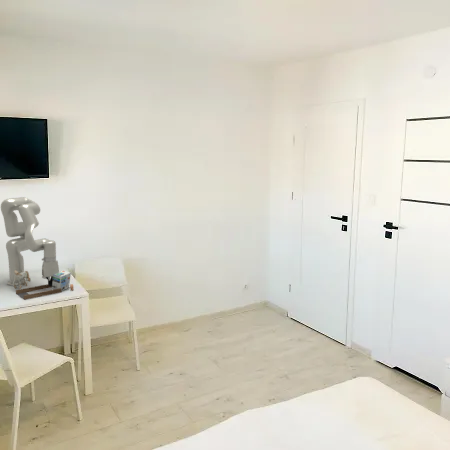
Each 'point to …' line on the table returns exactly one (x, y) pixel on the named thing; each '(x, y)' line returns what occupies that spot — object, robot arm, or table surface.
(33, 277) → the table surface
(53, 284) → the light bulb box
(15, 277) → the unicorn figurine
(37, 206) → the robot arm
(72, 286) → the posts
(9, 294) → the table surface
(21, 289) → the guide channel
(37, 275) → the table surface
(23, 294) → the mat
